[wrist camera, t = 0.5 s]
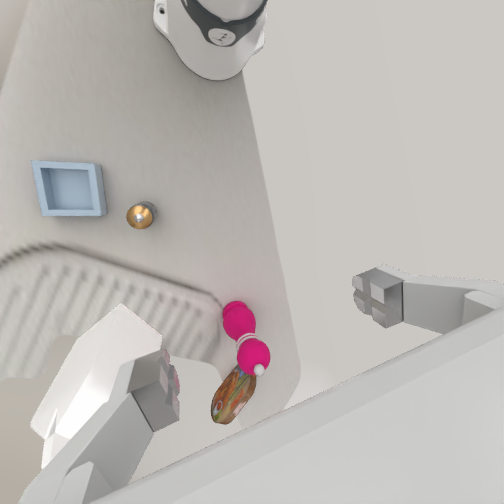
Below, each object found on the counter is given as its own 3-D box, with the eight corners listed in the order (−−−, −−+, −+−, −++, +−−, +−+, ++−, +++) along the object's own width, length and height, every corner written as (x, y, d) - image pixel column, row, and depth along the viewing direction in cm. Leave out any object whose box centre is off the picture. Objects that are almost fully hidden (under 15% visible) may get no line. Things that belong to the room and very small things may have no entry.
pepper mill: (232, 293, 56) (257, 348, 37) (255, 307, 58) (289, 364, 40) (214, 317, 56) (230, 383, 38) (238, 330, 59) (264, 397, 40)
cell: (133, 201, 45) (123, 205, 37) (156, 202, 46) (151, 205, 38) (136, 222, 46) (126, 230, 38) (158, 222, 47) (153, 230, 39)
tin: (243, 356, 61) (252, 381, 54) (252, 361, 63) (262, 386, 55) (208, 400, 62) (211, 431, 54) (217, 404, 63) (222, 435, 56)
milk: (162, 336, 54) (147, 459, 30) (123, 369, 53) (75, 522, 29) (120, 302, 49) (62, 416, 25) (76, 339, 49) (-25, 490, 25)
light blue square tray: (43, 162, 40) (30, 160, 36) (100, 165, 42) (94, 163, 39) (52, 213, 42) (42, 215, 39) (107, 213, 44) (101, 215, 41)
